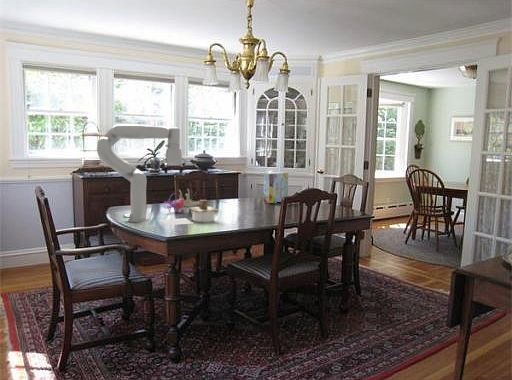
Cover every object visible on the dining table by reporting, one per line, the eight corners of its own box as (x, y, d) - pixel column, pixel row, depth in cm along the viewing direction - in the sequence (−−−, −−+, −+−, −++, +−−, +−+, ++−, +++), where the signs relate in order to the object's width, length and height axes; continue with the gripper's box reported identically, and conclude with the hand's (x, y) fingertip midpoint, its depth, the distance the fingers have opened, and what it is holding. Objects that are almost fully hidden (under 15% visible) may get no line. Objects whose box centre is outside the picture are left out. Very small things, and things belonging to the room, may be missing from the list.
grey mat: (166, 226, 260) (166, 225, 260) (158, 220, 276) (158, 219, 276) (194, 224, 268) (194, 223, 268) (185, 218, 284) (185, 218, 284)
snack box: (281, 200, 378) (282, 171, 375) (287, 202, 372) (289, 172, 368) (262, 202, 364) (263, 172, 361) (269, 204, 358) (270, 173, 355)
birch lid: (195, 212, 269) (196, 202, 269) (188, 208, 283) (188, 199, 282) (218, 211, 276) (218, 201, 275) (210, 207, 289) (210, 198, 289)
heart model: (189, 213, 309) (169, 211, 296) (181, 215, 315) (161, 213, 301) (189, 192, 312) (169, 190, 299) (181, 194, 318) (161, 192, 304)
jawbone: (176, 205, 337) (178, 188, 336) (186, 205, 345) (187, 188, 344) (198, 210, 322) (200, 192, 321) (208, 210, 329) (209, 192, 328)
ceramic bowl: (196, 223, 272) (197, 212, 271) (190, 219, 283) (190, 208, 282) (216, 221, 277) (216, 211, 277) (209, 218, 289) (209, 208, 288)
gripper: (161, 146, 269) (161, 173, 272) (188, 147, 277) (188, 173, 279) (158, 146, 276) (158, 172, 278) (184, 146, 284) (184, 172, 286)
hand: (173, 173), depth 279 cm, fingers open, 9 cm apart
